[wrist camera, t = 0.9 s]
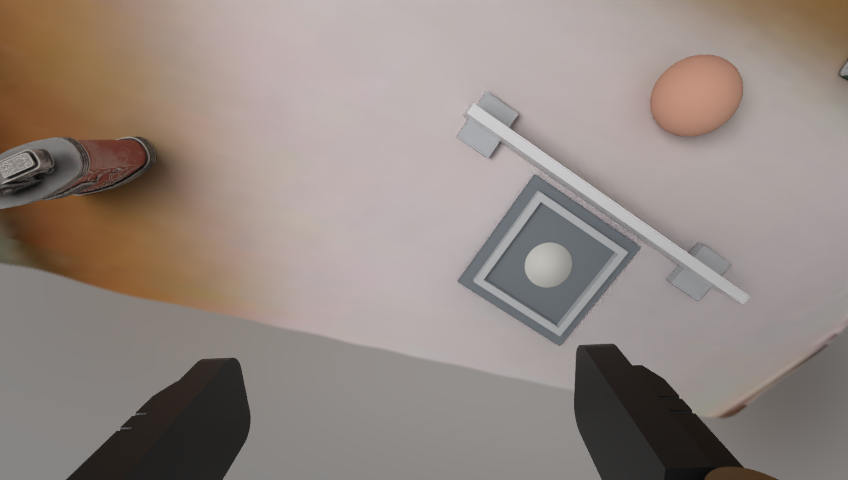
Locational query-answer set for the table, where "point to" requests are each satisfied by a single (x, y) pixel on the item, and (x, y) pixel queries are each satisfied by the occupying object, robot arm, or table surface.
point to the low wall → (597, 200)
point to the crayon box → (844, 71)
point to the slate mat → (548, 261)
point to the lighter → (70, 168)
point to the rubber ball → (696, 95)
